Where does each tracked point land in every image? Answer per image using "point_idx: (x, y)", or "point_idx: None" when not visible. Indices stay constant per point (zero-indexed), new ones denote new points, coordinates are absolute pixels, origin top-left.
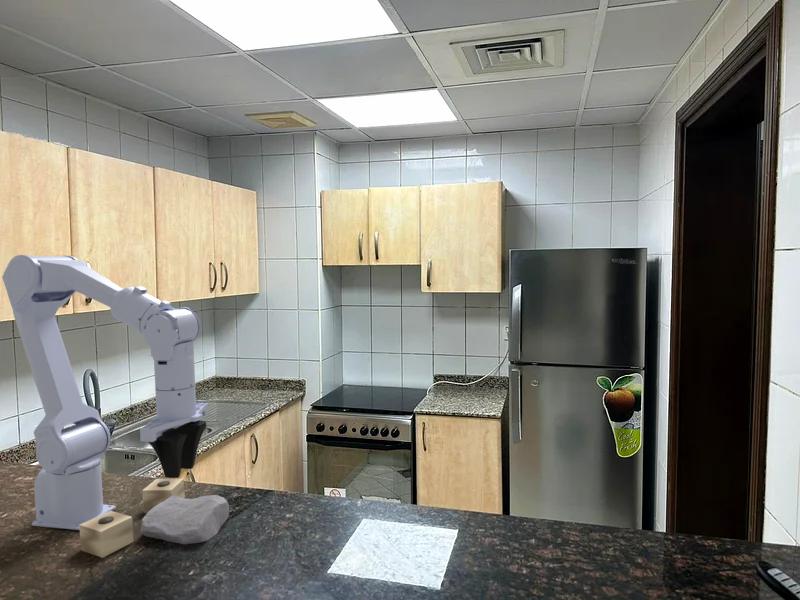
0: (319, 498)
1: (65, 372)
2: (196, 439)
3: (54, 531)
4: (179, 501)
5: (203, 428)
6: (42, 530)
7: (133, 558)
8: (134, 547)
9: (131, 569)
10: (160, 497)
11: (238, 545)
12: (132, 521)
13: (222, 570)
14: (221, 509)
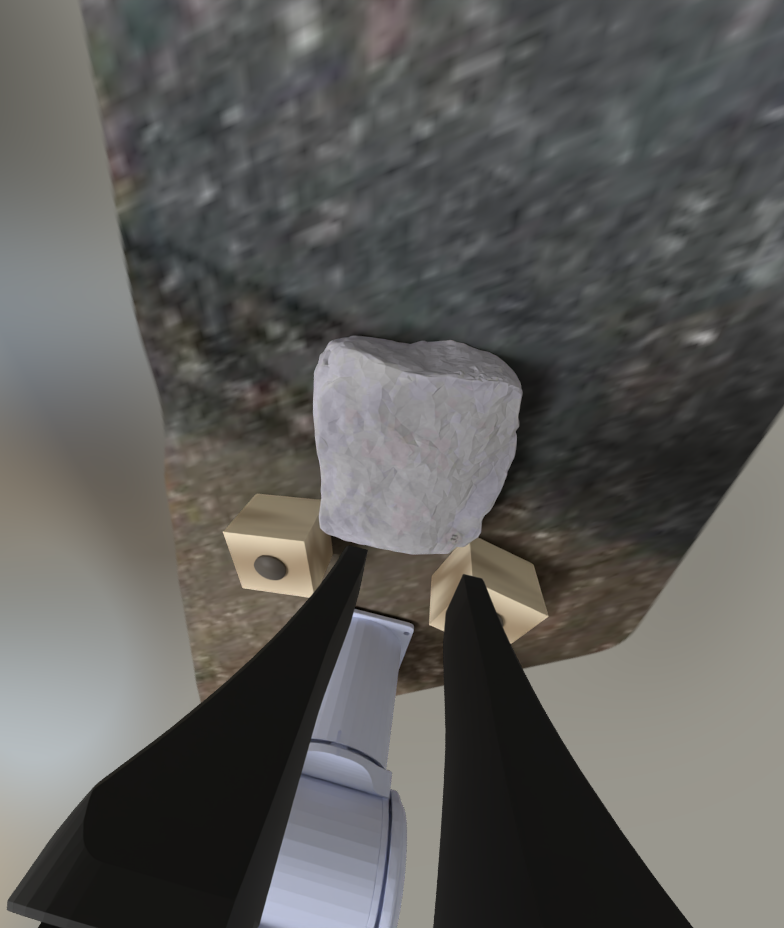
0: None
1: None
2: (294, 709)
3: (411, 650)
4: (353, 501)
5: (153, 798)
6: (407, 662)
7: (554, 510)
8: (498, 523)
9: (611, 498)
10: (315, 549)
11: (557, 219)
12: (471, 571)
13: (745, 218)
14: (384, 354)
